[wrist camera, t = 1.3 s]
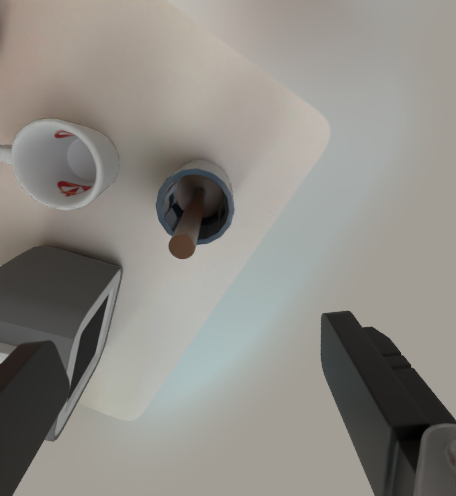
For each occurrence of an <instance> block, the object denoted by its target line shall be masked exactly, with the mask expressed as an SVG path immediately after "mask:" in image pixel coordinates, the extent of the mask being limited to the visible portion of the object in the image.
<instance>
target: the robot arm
mask: <svg viewBox="0 0 456 496" xmlns="http://www.w3.org/2000/svg"><path fill="white" fill-rule="evenodd" d="M321 362H322V368H323V372H324V375H325V378H326V381H327V383H328V385H329V387H330V390H331V392H332V395H333V397H334V399H335V402H336V404H337V407H338V409H339V411H340V414H341V416H342V419H343V421H344V423H345V426H346V428H347V430H348V433H349V435H350V438H351V440H352V442H353V445H354V447H355V450H356V452H357V454H358V457H359V459H360V462H361V464H362V466H363V469H364V471H365V473H366V476H367V478H368V481H369V483H370V485H371V488H372V490H373V492H374V495H375V496H456V420H455V419H454V417H453V416H452V415H451V414H450V413H449V411H448V410H447V409H446V408H445V406H444V405H443V404H442V403H441V401H440V400H439V399H438V398H437V396H436V395H435V394H434V393H433V392H432V390H431V389H430V388H429V387H428V385H427V384H426V383H425V382H424V380H423V379H422V378H421V377H420V376H419V374H418V373H417V372H416V371H415V369H414V368H411V364H410V363H409V362H408V361H407V359H406V358H405V357H404V356H403V355H401V352H400V351H399V350H398V348H397V347H396V346H395V345H394V343H393V342H392V341H391V340H390V338H388V337H387V336H385V335H384V334H382V333H381V332H379V331H378V330H376V329H375V328H373V327H363V328H362V327H361V325H360V324H359V322H358V321H357V320H356V318H355V317H354V315H353V314H352V313H351V312H350V311H341V312H331V313H323V314H322V316H321ZM69 391H70V382H69V378H68V375H67V373H66V370H65V368H64V365H63V363H62V360H61V358H60V355H59V352H58V350H57V347H56V345H55V344H54V342H52V341H50V340H46V341H36V342H26V343H21V344H20V345H18V346H17V347H16V348H15V349H14V350H13V351H12V352H11V353H10V355H9V356H8V357H7V358H6V359H5V360H4V361H3V362H2V363H1V364H0V496H12V495H13V493H14V492H15V490H16V488H17V486H18V485H19V483H20V481H21V479H22V478H23V476H24V474H25V472H26V471H27V469H28V467H29V466H30V464H31V462H32V460H33V459H34V457H35V455H36V453H37V451H38V450H39V448H40V446H41V445H42V443H43V441H44V440H45V438H46V436H47V434H48V433H49V431H50V429H51V427H52V426H53V424H54V422H55V420H56V419H57V417H58V415H59V413H60V412H61V410H62V408H63V407H64V405H65V403H66V401H67V399H68V396H69Z"/></svg>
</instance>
